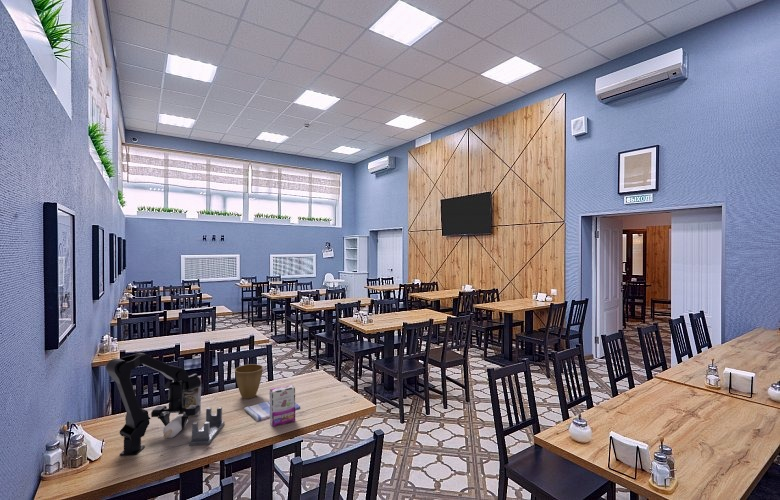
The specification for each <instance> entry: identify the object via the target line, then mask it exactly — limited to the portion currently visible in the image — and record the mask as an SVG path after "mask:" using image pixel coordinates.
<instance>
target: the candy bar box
mask: <svg viewBox="0 0 780 500" xmlns="http://www.w3.org/2000/svg"><path fill="white" fill-rule="evenodd" d="M269 401H270V418H269V423H270V425H271V427H273V428H274V427H276V426H282V425H284V424H287V423H288V424H289V423H292V422H293V423H294V422H296V410H295V403H296V388H295V385H293V384H288V385H283V386H279V387H273V388H270V389H269Z"/></svg>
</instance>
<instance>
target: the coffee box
mask: <svg viewBox="0 0 780 500" xmlns="http://www.w3.org/2000/svg"><path fill="white" fill-rule="evenodd" d="M200 381H201V382H202V379H200ZM183 395H185V397H189V402H188V404H186V406H184V407H183V408H188V407H189V406H190V405H199V406H200V410H199V411H198V413H197V414H196V415H193V416H192V417H198V416H199V415H200V414H201V411H202V409H201V408H202V407H201V405H202V403H201V402H202V401H201V400H202V384H201V385H200V387H199V388H196V389H193V390H190V391H187V392H186V391H184V390H183ZM177 414H178V415H180V414H183V415H184V412H182V413H177ZM190 417H191V416H189V417H188V418H190Z"/></svg>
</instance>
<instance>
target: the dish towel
mask: <svg viewBox="0 0 780 500" xmlns="http://www.w3.org/2000/svg"><path fill="white" fill-rule="evenodd" d="M300 409H301V406H300V405H299V404H297V403H296V402H295V411H297V410H300ZM244 410H245V413H247V414H249V416H250V417H252V418H253V419H254V420H255V421H256V422H259V421H264V420H267V419H270V400H269V401H264V402H260V403H257V404H254V405H251V406H246V407H244Z"/></svg>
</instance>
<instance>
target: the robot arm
mask: <svg viewBox="0 0 780 500" xmlns="http://www.w3.org/2000/svg"><path fill="white" fill-rule="evenodd" d="M140 365H142V366H146V367H148V368H150V369H153V370H154V371H157V372H159V373H161V374H162V375H163V376H164V377H165V378H166V379H168V380H172V381H167V382H166V383H165V384H164V385H163V388H165V389H168V399H166V401H167V403H168V407H167V406H166V405H157V406H156V407H155V408H153V409H152V411H151V412H150V414H149V411H148V410H147V409H144V408H142V407H140V404H139V401H138V399H137V395H136V393H135V390H134V386H133V383H132V380H131V375H132V371H133V370H136V368H138V367H139V366H140ZM105 370H106V372H107V373H108V375H109V377H111V379H112V380H113V381H114V382H115V383H116V387H117V390H118V391H119V392H118V393H119V394H120V398H121V401H122V404H123V406H124V408H125V412H126V415H125V424H124V425H123V426H122V427H121V428H120V430H119V432H118V433H119V434H120V437H123V450H122V451H121V452H120V453H119V456H134V455H138V454H139V453H140V452H141V451H142V450H143V449H144V448H145V446H146V445H144V444H143V445H142V437H144V436H145V435H146V431H147V429H148V427H149V425H150V420H151V418H157V419H158V420H160V421H161V422H162V423H163V425H164V427H165V426H166V425H167V424H168V423H170V422H171V421H170V418H171V417H170V416H171V414H174V413H175V414H178V413H182V412H184V415H183V416H182V417H181V419H182V429H181V431H182V430H184V429H185V427H186V425H187V424H186V422H187V419H188V420H189V418H190V417H194V416H193V415H196V414H197V413H198V411H199V410H200V406H199V405H190V406H189V407H188V408H183V407H184V406H186V404H188V402H189V397H185V395H183V390H184V391H186V392H187V391H190V390H193V389H196V388H199V387H200V385H201V386H202V380H201V378H200V377H199V374H198V373H192V374H191V375H188V374H187V373H186V372H187V371H186V369H185V368H183V367H180V366H175V365H171V364H168V363H165V362H163V361H161V360H159V359H157V358H154V357H152V356H149V355H148V354H146V353H144V352H137V353H134V354H131V355H128V356H122V357H120V358H112V359H111V360H109V361H108V362H107V364H106V365H105ZM200 380H201V381H200ZM149 415H150V416H149ZM189 416H190V417H189ZM187 423H188V422H187Z"/></svg>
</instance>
